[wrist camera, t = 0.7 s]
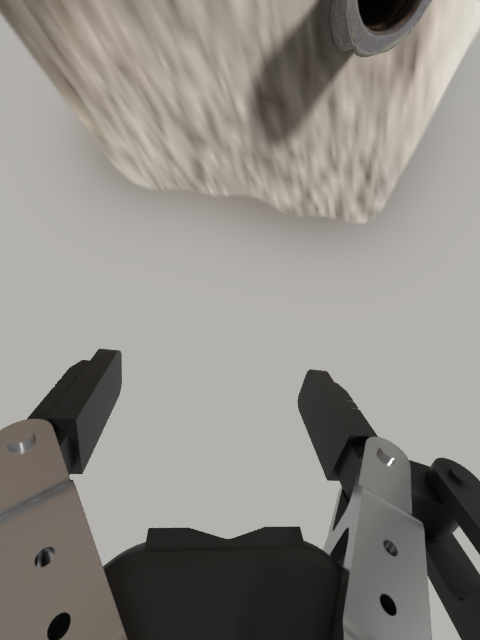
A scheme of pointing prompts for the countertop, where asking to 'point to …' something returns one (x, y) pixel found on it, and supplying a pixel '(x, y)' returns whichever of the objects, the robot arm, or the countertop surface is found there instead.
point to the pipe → (373, 23)
